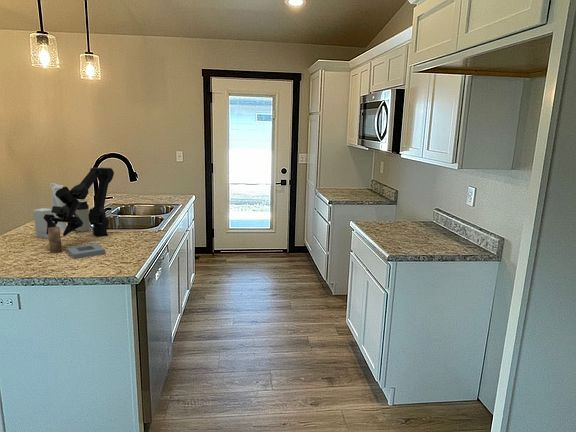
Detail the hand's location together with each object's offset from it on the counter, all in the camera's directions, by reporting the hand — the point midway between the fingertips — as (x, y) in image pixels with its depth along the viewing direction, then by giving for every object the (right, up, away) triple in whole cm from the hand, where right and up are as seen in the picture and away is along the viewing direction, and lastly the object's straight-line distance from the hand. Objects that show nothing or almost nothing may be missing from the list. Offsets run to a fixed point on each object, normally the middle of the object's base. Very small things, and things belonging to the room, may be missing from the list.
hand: (55, 234), depth 198 cm
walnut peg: (0, -8, +1) cm, 8 cm away
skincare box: (-20, -2, +27) cm, 34 cm away
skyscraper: (-21, +1, +43) cm, 48 cm away
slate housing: (+14, -9, +1) cm, 17 cm away
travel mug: (-9, +1, +43) cm, 44 cm away
